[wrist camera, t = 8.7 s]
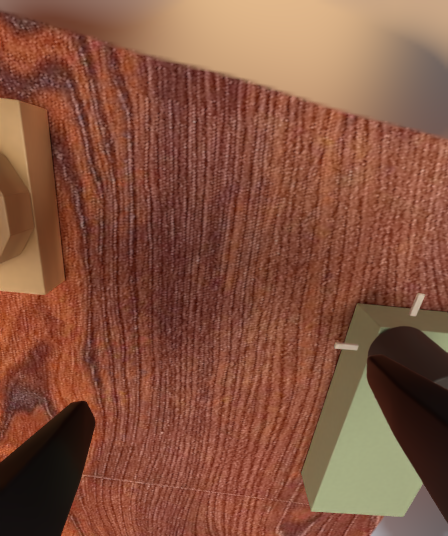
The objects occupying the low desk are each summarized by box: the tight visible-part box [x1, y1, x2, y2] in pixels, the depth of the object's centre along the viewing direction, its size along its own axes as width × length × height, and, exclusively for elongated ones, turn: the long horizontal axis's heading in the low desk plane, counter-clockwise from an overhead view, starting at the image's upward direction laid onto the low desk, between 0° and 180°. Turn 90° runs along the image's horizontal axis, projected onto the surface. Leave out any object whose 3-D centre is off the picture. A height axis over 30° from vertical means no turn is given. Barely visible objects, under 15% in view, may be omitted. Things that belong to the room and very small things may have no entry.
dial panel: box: [301, 293, 448, 517], centre depth 20 cm, size 20×10×3 cm, turn 173°
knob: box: [368, 326, 448, 389], centre depth 14 cm, size 4×4×4 cm
